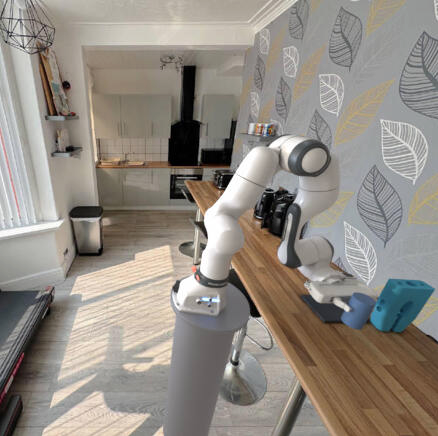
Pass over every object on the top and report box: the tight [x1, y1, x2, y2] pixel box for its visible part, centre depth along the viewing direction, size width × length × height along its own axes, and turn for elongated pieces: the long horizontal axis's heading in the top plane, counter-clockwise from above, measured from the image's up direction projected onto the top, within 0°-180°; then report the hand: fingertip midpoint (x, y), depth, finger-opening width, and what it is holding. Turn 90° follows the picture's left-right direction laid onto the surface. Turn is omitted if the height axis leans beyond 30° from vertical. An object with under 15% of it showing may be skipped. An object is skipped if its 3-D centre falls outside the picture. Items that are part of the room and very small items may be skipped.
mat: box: [300, 294, 370, 323], centre depth 96 cm, size 18×14×1 cm
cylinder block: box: [341, 292, 377, 330], centre depth 74 cm, size 6×6×10 cm
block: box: [369, 278, 436, 333], centre depth 85 cm, size 12×5×20 cm, turn 88°
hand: (361, 310), depth 73 cm, fingers closed on cylinder block, 5 cm apart
